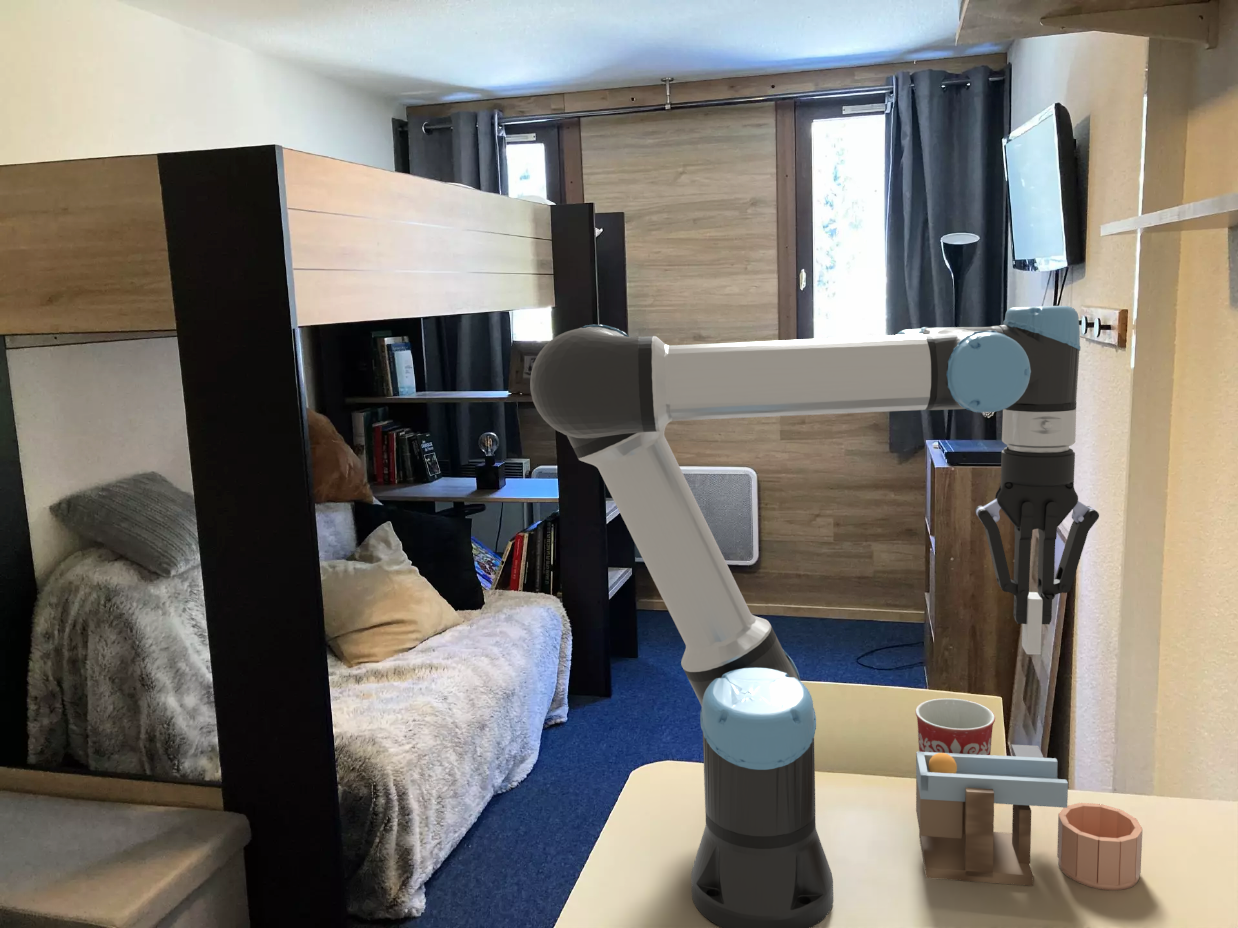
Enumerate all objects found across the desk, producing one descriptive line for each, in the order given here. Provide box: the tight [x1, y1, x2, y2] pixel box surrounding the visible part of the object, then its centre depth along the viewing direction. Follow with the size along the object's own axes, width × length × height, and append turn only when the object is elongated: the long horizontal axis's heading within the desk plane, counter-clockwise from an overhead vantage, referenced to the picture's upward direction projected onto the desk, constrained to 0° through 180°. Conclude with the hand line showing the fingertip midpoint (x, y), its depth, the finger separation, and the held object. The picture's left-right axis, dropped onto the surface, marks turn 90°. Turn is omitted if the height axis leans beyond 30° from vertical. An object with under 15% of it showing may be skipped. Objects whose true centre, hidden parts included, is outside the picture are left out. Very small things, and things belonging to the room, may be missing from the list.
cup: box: [1056, 802, 1143, 891], centre depth 108 cm, size 8×8×6 cm
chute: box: [915, 744, 1069, 838], centre depth 113 cm, size 15×13×7 cm
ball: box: [929, 753, 957, 774], centre depth 110 cm, size 3×3×3 cm
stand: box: [918, 788, 1034, 887], centre depth 111 cm, size 11×9×10 cm
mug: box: [915, 698, 996, 755], centre depth 121 cm, size 13×9×14 cm
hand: (1031, 650), depth 113 cm, fingers closed
